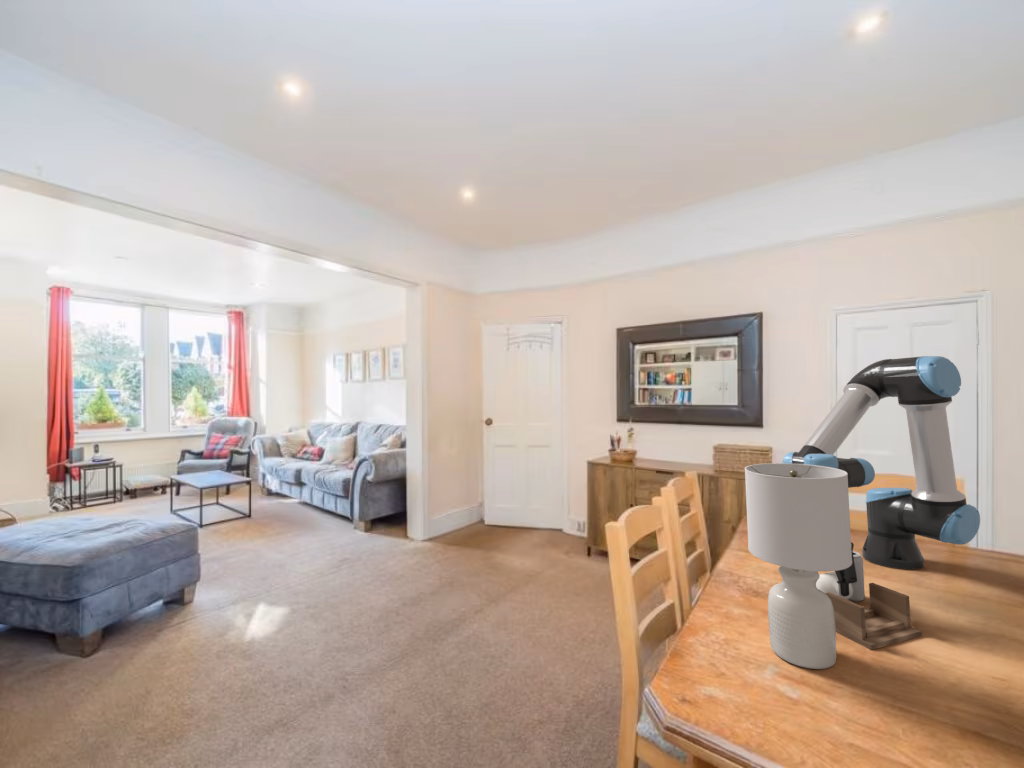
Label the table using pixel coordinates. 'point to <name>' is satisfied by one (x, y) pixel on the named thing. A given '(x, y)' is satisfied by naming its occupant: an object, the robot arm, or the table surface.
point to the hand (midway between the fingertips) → (827, 600)
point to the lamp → (800, 552)
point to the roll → (830, 584)
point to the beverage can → (858, 579)
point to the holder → (875, 618)
